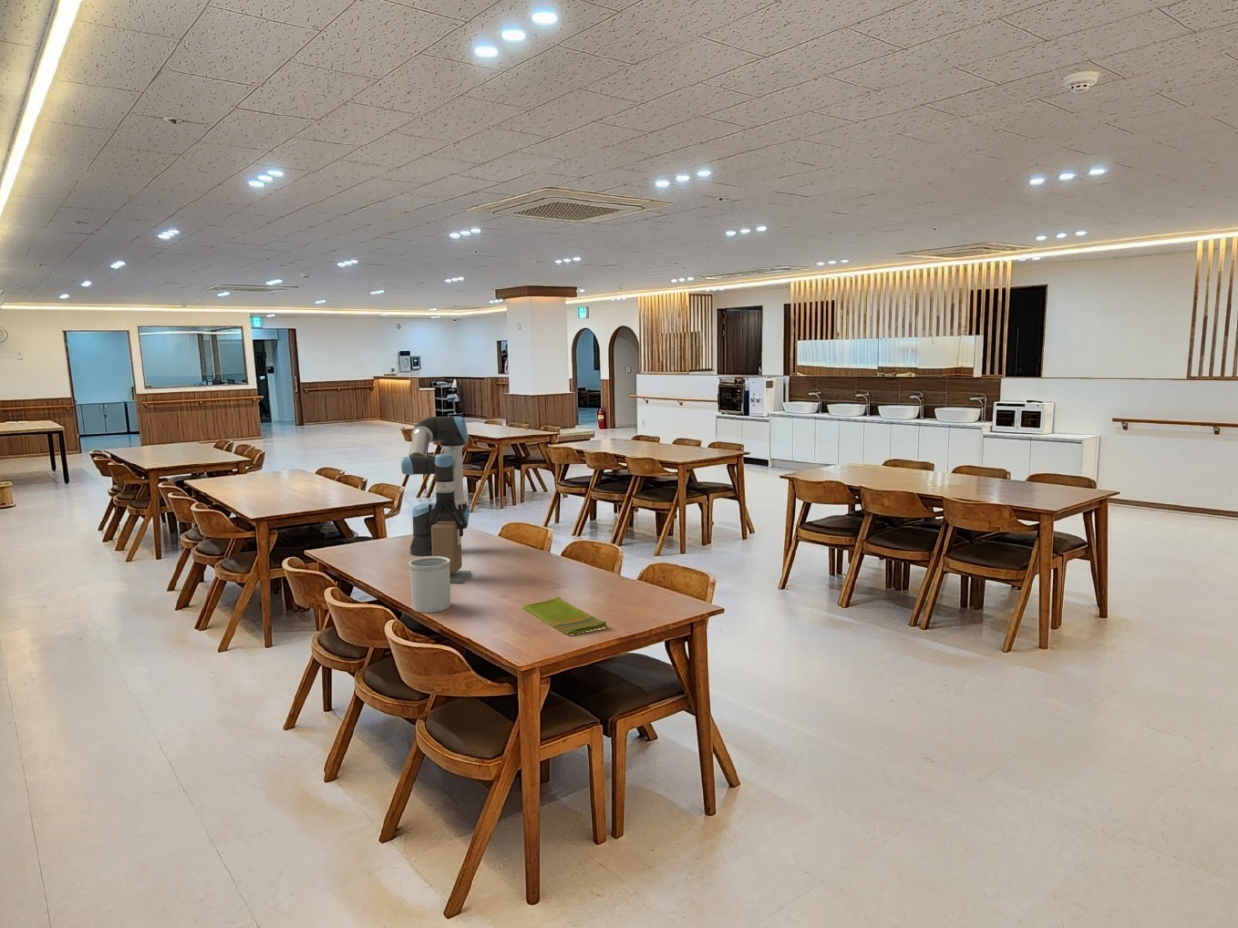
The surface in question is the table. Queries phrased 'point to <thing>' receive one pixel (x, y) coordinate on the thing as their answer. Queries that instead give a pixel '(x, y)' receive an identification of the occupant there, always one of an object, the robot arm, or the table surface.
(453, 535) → the wooden block
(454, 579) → the plate
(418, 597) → the utensil holder
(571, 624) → the dish towel
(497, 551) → the table surface
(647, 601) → the table surface
